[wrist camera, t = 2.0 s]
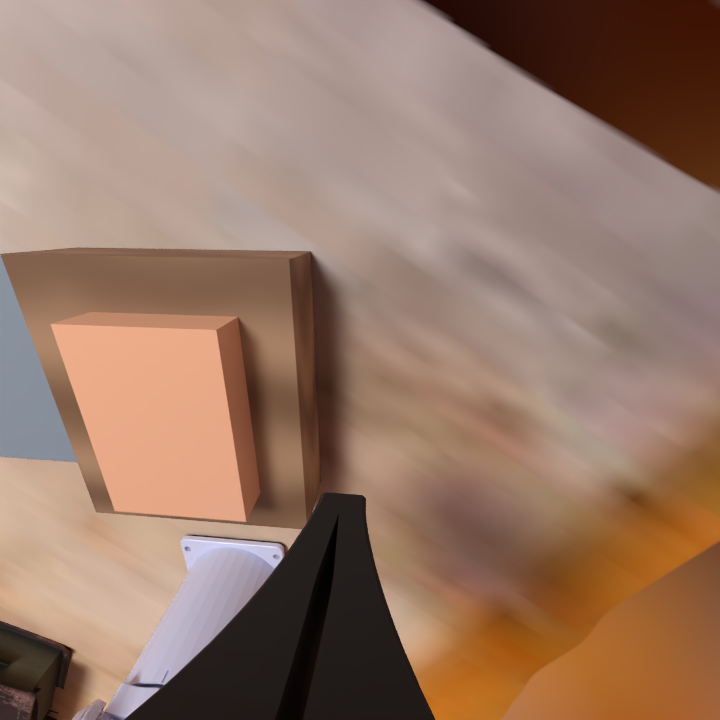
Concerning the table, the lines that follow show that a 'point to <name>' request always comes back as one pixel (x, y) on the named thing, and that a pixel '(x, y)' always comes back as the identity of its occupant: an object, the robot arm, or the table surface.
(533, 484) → the table surface
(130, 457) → the block
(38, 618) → the table surface
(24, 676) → the diary
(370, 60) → the table surface
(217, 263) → the board
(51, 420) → the mat
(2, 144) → the table surface
